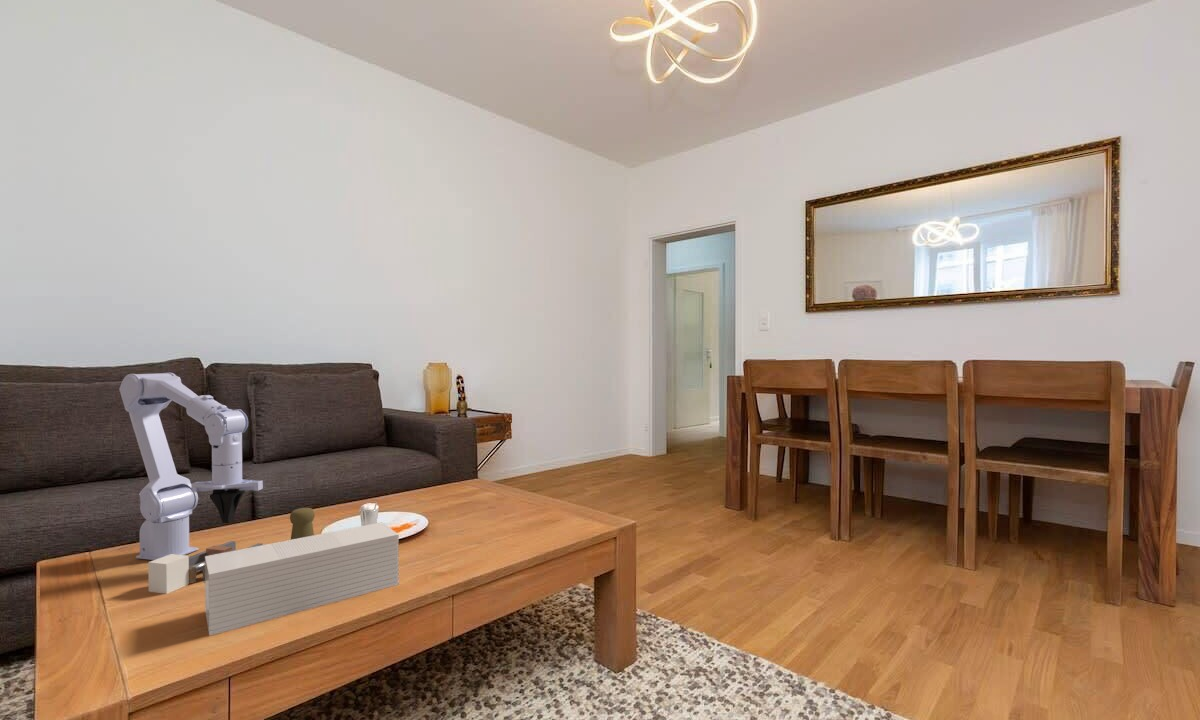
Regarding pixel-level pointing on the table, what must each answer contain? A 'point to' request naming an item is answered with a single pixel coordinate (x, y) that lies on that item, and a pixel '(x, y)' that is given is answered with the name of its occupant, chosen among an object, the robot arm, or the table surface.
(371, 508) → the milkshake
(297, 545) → the stack of papers
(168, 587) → the block
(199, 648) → the table surface
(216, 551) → the ram
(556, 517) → the table surface
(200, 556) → the track
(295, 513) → the cork
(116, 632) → the table surface
